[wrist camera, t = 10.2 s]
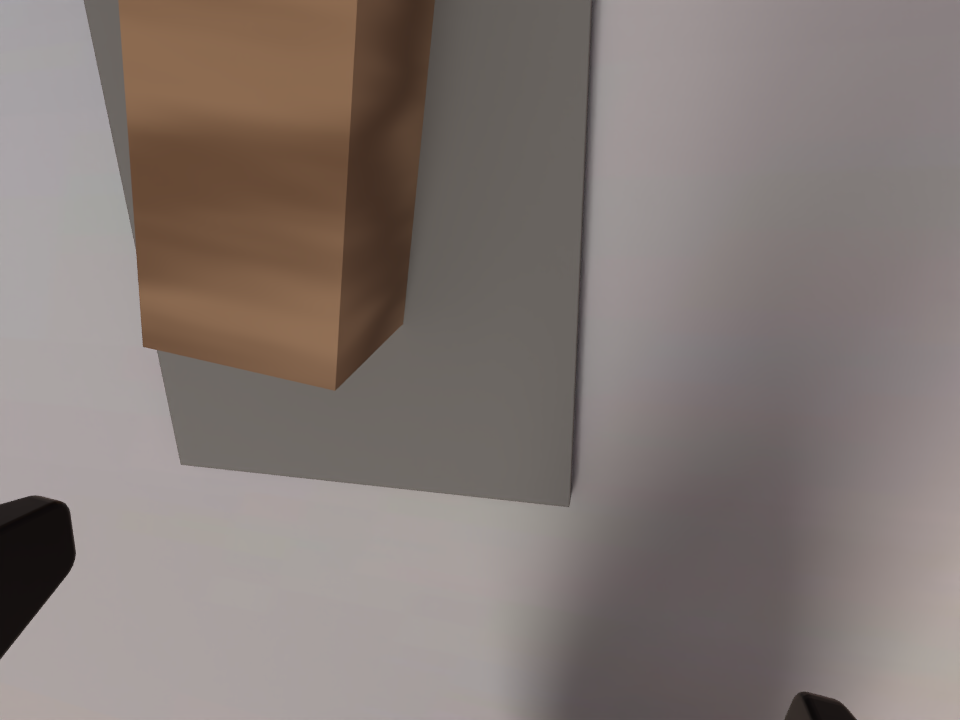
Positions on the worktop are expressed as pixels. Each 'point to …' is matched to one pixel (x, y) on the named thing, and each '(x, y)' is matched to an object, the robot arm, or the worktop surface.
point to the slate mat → (436, 283)
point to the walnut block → (274, 176)
